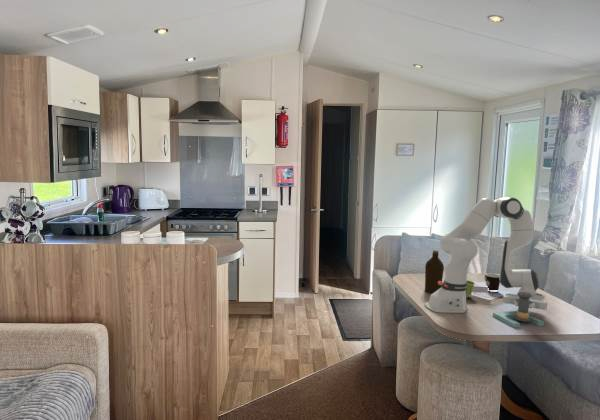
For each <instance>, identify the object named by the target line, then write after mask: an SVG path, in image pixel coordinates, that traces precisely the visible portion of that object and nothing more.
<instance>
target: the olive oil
mask: <svg viewBox="0 0 600 420" xmlns="http://www.w3.org/2000/svg"><path fill="white" fill-rule="evenodd" d="M444 269H445V267H444V263H443V262H442V260H441V259H440V258H439V251H438V250H434V249H433V251H432V256H431V258H429V259H428V260H427V261H426V262H425V269H424V271H425V272H424V274H425V275H424V276H425V277H424V278H425V279H424V291H425V293H429V294H433V293H434V292H436V291H437V290H438V289H440V288H441V286H442V285H439V284H438V281H441V282H442V283H443V277H444Z"/></svg>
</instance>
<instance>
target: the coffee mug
mask: <svg viewBox="0 0 600 420" xmlns="http://www.w3.org/2000/svg"><path fill="white" fill-rule="evenodd" d="M499 278H500V274H496V273H486V274H484V280H485V282H486V284H485V285H487V286H488V288H489V290H498V291H499V290H500V289H499V288H500V285H501V284H500V279H499Z"/></svg>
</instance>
